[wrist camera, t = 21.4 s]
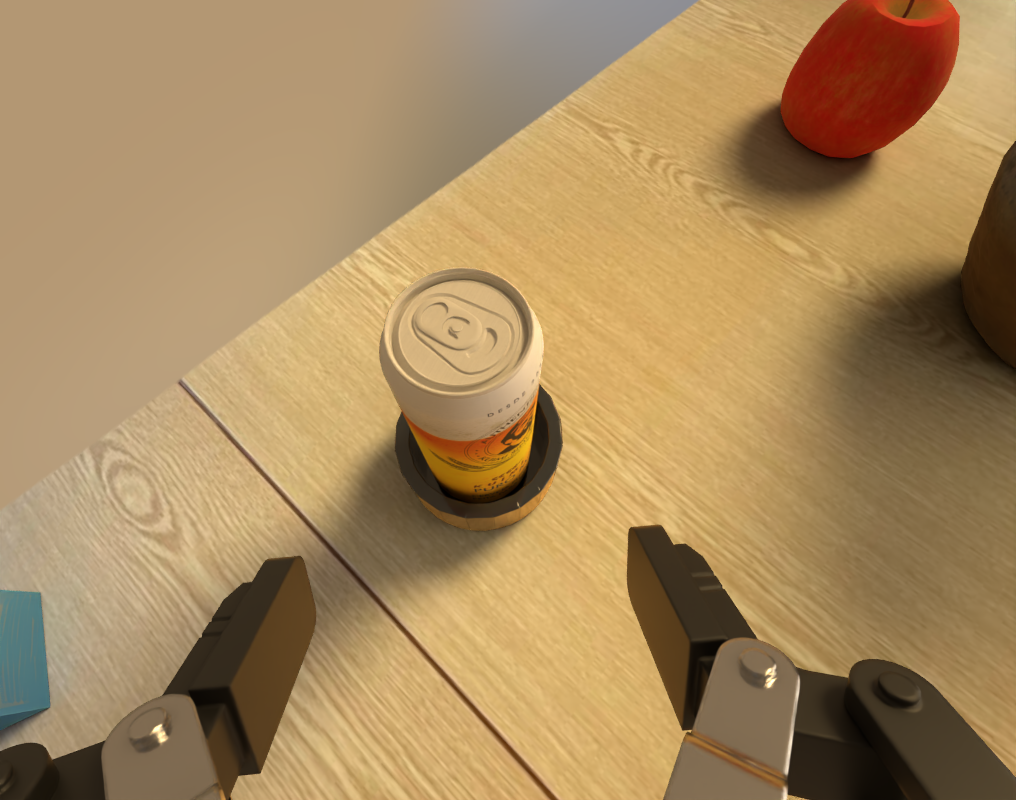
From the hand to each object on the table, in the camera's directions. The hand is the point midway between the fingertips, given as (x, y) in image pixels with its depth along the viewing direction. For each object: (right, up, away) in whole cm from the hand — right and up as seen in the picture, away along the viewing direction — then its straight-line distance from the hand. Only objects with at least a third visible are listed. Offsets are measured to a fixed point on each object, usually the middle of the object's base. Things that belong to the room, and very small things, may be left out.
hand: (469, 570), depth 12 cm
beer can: (-1, +1, +19) cm, 19 cm away
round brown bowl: (-1, +1, +20) cm, 20 cm away
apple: (+30, +28, +32) cm, 52 cm away
